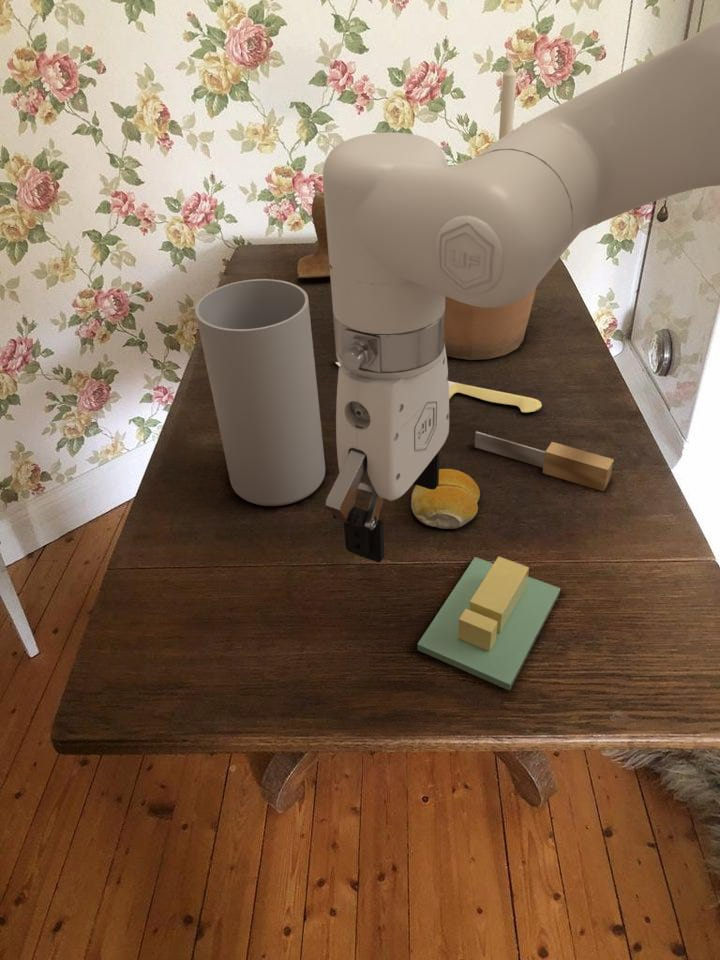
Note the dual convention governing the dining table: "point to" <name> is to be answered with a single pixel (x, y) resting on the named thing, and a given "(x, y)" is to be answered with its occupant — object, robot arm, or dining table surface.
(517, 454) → the wooden handled knife
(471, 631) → the butter slice
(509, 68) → the candle
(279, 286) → the cylinder vase
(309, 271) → the stone cup
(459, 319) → the pottery
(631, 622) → the dining table surface
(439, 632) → the butter dish
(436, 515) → the bread roll
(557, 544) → the dining table surface
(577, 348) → the dining table surface
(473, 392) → the knife
